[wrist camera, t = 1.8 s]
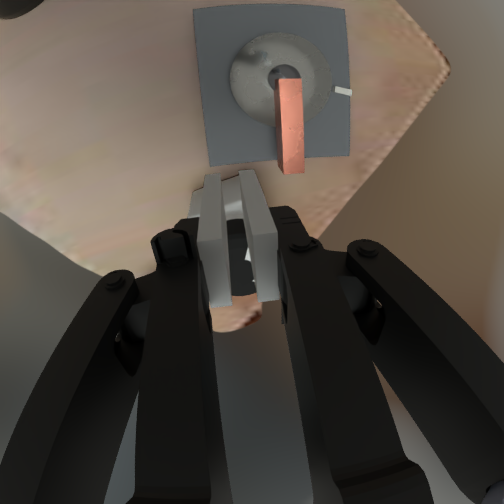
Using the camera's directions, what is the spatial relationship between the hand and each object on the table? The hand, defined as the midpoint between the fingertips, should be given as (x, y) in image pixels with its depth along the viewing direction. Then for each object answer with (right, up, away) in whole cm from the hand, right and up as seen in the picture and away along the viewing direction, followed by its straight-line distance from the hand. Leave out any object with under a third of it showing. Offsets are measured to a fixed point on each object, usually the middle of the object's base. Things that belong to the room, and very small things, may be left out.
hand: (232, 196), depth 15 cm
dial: (+4, +13, +12) cm, 18 cm away
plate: (+4, +16, +12) cm, 20 cm away
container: (-1, +3, +21) cm, 21 cm away
